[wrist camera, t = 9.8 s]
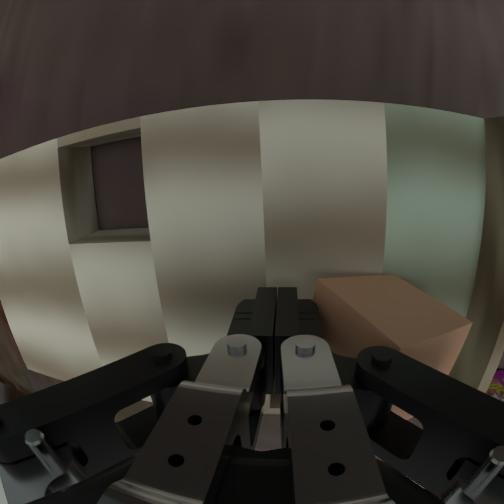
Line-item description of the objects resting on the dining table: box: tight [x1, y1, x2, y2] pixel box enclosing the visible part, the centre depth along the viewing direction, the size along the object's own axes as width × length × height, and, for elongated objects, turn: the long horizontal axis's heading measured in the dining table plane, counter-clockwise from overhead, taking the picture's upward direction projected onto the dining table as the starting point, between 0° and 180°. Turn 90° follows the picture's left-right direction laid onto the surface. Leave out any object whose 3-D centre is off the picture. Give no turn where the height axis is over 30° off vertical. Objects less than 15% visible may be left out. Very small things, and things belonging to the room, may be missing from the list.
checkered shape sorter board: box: [0, 100, 504, 414], centre depth 13 cm, size 16×30×6 cm, turn 92°
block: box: [312, 274, 473, 420], centre depth 10 cm, size 4×4×4 cm
